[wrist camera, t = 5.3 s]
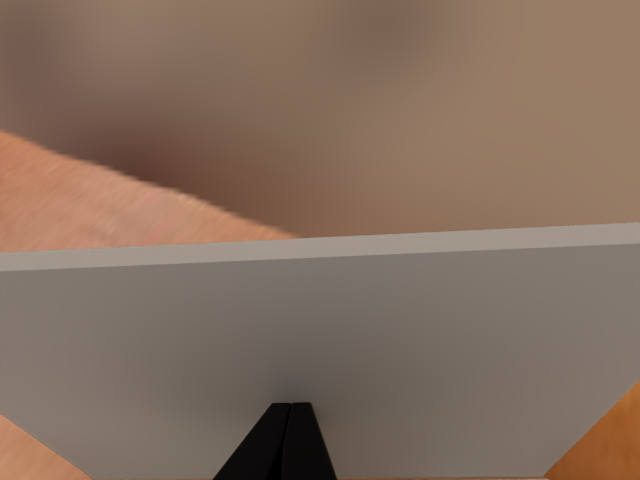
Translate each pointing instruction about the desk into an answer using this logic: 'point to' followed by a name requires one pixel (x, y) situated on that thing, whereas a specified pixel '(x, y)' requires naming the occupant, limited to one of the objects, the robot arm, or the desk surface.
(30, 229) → the desk surface
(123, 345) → the carton flap
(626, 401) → the desk surface
